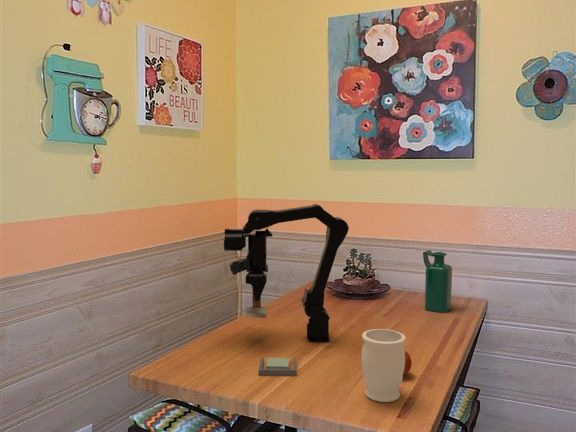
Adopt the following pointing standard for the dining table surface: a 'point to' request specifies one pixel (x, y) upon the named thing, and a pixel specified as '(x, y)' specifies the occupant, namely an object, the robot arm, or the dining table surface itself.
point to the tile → (277, 363)
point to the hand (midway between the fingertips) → (257, 299)
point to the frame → (277, 370)
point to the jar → (383, 363)
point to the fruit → (407, 363)
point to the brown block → (256, 309)
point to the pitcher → (437, 283)
